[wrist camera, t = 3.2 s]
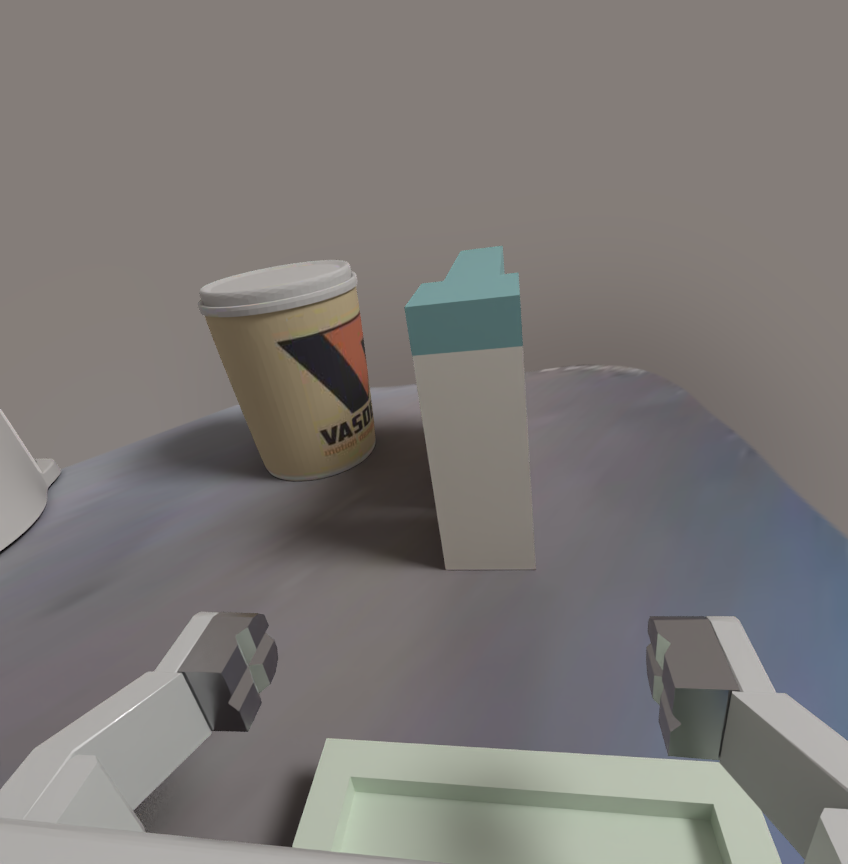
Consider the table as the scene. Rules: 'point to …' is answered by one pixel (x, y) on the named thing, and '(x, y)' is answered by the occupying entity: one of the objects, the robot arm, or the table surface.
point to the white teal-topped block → (475, 418)
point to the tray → (528, 807)
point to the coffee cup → (296, 364)
